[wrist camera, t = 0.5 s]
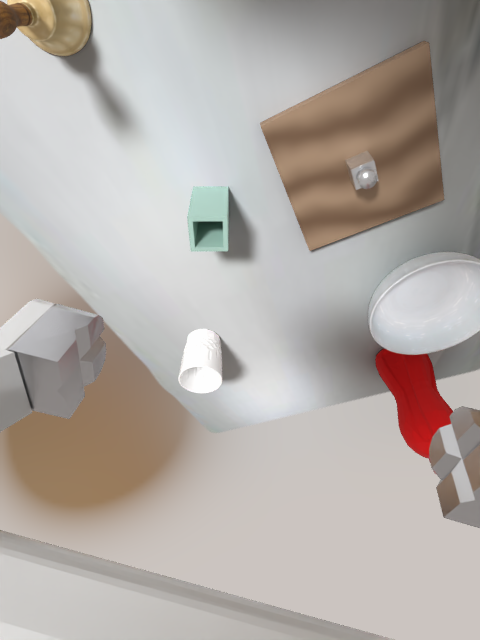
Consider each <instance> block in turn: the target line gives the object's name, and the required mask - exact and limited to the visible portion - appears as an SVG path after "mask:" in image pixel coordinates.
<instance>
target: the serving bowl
mask: <svg viewBox="0 0 480 640" xmlns="http://www.w3.org/2000/svg"><path fill="white" fill-rule="evenodd" d="M368 324H369V329H370V333H371V335H372V337H373V339H374V340H375V341H376V342H377V343H378V344H379V345H380V346H381V347H383V348H385V349H387V350H389V351H391V352H395V353H399V354H407V355H418V354H427V353H432V352H437V351H440V350H444V349H447V348H449V347H452V346H454V345H457V344H459V343H461V342H463V341H465V340H467V339H468V338H470V337H472V336H473V335H474V334H476V333H477V332H479V331H480V259H478V258H476V257H473V256H471V255H467V254H463V253H458V252H436V253H430V254H426V255H422V256H419V257H417V258H414V259H412V260H409V261H407V262H405V263H404V264H402V265H400V266H399V267H397V268H396V269H394V270H393V271H392V272H391V273H389V274H388V275H387V276H386V277H385V278H384V279H383V280H382V282H381V283H380V284H379V285H378V287H377V288H376V290H375V292H374V293H373V295H372V298H371V300H370V304H369V308H368Z"/></svg>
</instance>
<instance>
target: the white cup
mask: <svg viewBox="0 0 480 640" xmlns="http://www.w3.org/2000/svg"><path fill="white" fill-rule="evenodd" d="M178 380H179V383H180V385H181V386H182V387H183V388H185V389H186V390H188V391H191V392H195V393H209V392H212V391H215V390H216V389H218V388H219V387H220V386H221V384H222V353H221V340H220V337H219V335H217V334H216V333H215V332H214V331H211V330H208V329H198V330H195V331H192V332H191V333H190V334H189V335H188V337H187V342H186V346H185V348H184V353H183V358H182V362H181V368H180V373H179V378H178Z"/></svg>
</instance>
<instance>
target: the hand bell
mask: <svg viewBox="0 0 480 640" xmlns="http://www.w3.org/2000/svg"><path fill="white" fill-rule="evenodd" d="M7 4H8V5H7ZM7 4H5V3H4V2H2V1H0V39H2V38H5V37H8V36H10V35H11V34H12V33H13V32H14V31H15V29H16V27H17V28H18V29H19V30H20V31H21V32H22V33H23V34H24V35H25V36H27V37H28V38H29V39H30V40H31V41H32V42H33V43H34V44H36V45H37V46H38V47H40V48H41V49H43V50H44V51H46V52H48V53H50V54H53V55H58V56H69V55H72V54H75V53H77V52H78V51H80V50H81V49H82V48H83V47H84V46H85V44H86V43H87V41H88V39H89V35H90V31H91V12H90V7H89V3H88V0H7Z"/></svg>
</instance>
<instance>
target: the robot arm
mask: <svg viewBox="0 0 480 640" xmlns="http://www.w3.org/2000/svg"><path fill="white" fill-rule="evenodd" d="M103 330H104V322H103V318H102V317H101V316H99V315H96V314H93V313H89V312H85V311H82V310H78V309H75V308H71V307H67V306H63V305H60V304H54V303H50V302H47V301H44V300H40V299H35V300H31V301H29V302H28V303H27V304H26V305H25V306H24V307H23V308H22V309H20V310H19V311H18V312H17V313H16V314H15V315H14V316H13V317H11V318H10V319H9V320H8V321H7V322H6V323H5V324H4V325H3V326H2V327H1V328H0V432H1V431H3V430H4V429H6V428H8V427H9V426H11V425H12V424H14V423H16V422H17V421H19V420H21V419H22V418H24V417H26V416H27V415H29V414H31V413H32V410H33V411H38V412H41V413H46V414H50V415H54V416H59V417H63V418H67V419H70V417H71V416H72V414H73V413H74V411H75V410H76V408H77V407H78V405H79V404H80V403H81V401H82V399H83V398H84V397H85V393H84V386H86V385H88V384H90V383H92V382H94V381H95V380H96V378H97V377H98V375H99V373H100V372H101V369H102V367H103V364H104V361H105V356H106V343H105V342H104V341H103V339H102V338H101V337H100V334H101V333H102V332H103ZM450 421H451V424H449V425H446V426H444V427H441V428H439V429H438V430H437V432H436V433H435V434H434V436H433V437H432V440H431V444H430V447H429V458H430V463H431V467H432V469H433V471H434V472H435V473H436V474H437V475H438V477H439V478H440V479H441V480H440V482H439V484H438V485H437V487H436V489H437V493H438V497H439V501H440V505H441V508H442V513H443V517H444V518H447V519H450V520H454V521H457V522H461V523H464V524H467V525H471V526H474V527H478V528H480V410H476V409H472V408H467V407H463V406H462V407H459V408H457V409H455V410H454V412H453V413H452V414H451V415H450ZM0 640H394V639H390V638H387V637H383V636H379V635H376V634H372V633H368V632H365V631H361V630H358V629H354V628H351V627H347V626H344V625H340V624H336V623H332V622H329V621H326V620H322V619H318V618H315V617H311V616H307V615H304V614H300V613H297V612H293V611H290V610H286V609H282V608H278V607H275V606H271V605H268V604H264V603H261V602H257V601H253V600H250V599H246V598H243V597H239V596H236V595H232V594H228V593H225V592H221V591H218V590H214V589H210V588H207V587H203V586H200V585H196V584H192V583H189V582H185V581H181V580H178V579H174V578H171V577H167V576H164V575H160V574H157V573H153V572H149V571H146V570H142V569H138V568H135V567H131V566H128V565H124V564H120V563H117V562H113V561H110V560H106V559H102V558H99V557H95V556H92V555H88V554H84V553H81V552H77V551H74V550H70V549H67V548H63V547H59V546H56V545H52V544H49V543H45V542H41V541H38V540H34V539H30V538H27V537H23V536H19V535H16V534H12V533H9V532H5V531H2V530H0Z"/></svg>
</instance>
